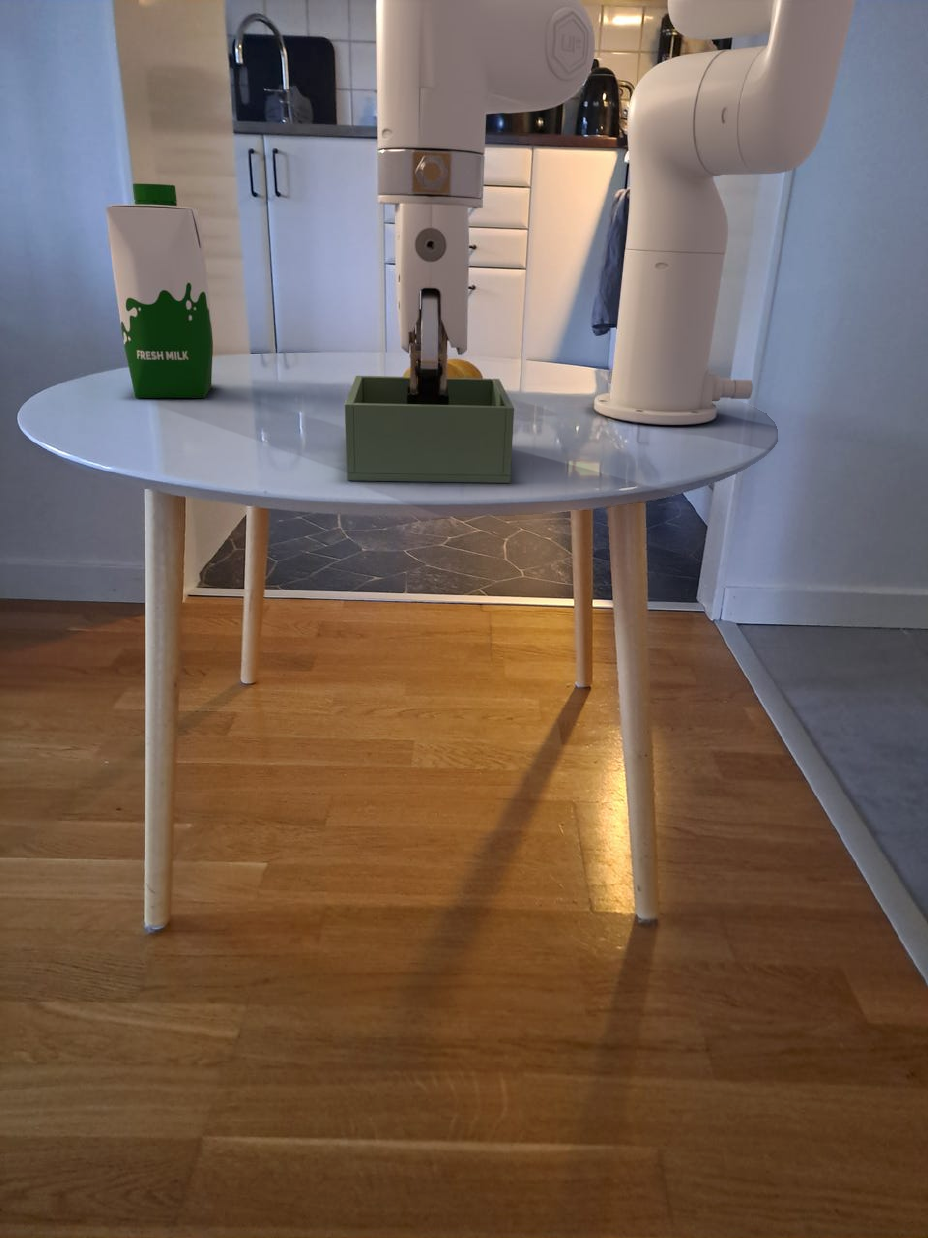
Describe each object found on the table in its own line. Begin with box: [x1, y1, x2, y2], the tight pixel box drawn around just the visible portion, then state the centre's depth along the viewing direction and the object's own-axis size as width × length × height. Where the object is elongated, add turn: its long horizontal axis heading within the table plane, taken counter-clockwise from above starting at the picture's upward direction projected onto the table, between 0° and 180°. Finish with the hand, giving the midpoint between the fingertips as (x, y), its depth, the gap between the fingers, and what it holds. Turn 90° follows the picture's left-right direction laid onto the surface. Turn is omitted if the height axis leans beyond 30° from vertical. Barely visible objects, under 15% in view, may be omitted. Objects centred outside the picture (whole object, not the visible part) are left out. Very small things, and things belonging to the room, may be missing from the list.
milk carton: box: [105, 182, 214, 399], centre depth 86 cm, size 9×9×20 cm
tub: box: [344, 375, 515, 484], centre depth 67 cm, size 12×12×6 cm
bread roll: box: [402, 358, 484, 379], centre depth 93 cm, size 8×9×4 cm
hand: (426, 439), depth 67 cm, fingers closed on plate, 2 cm apart
